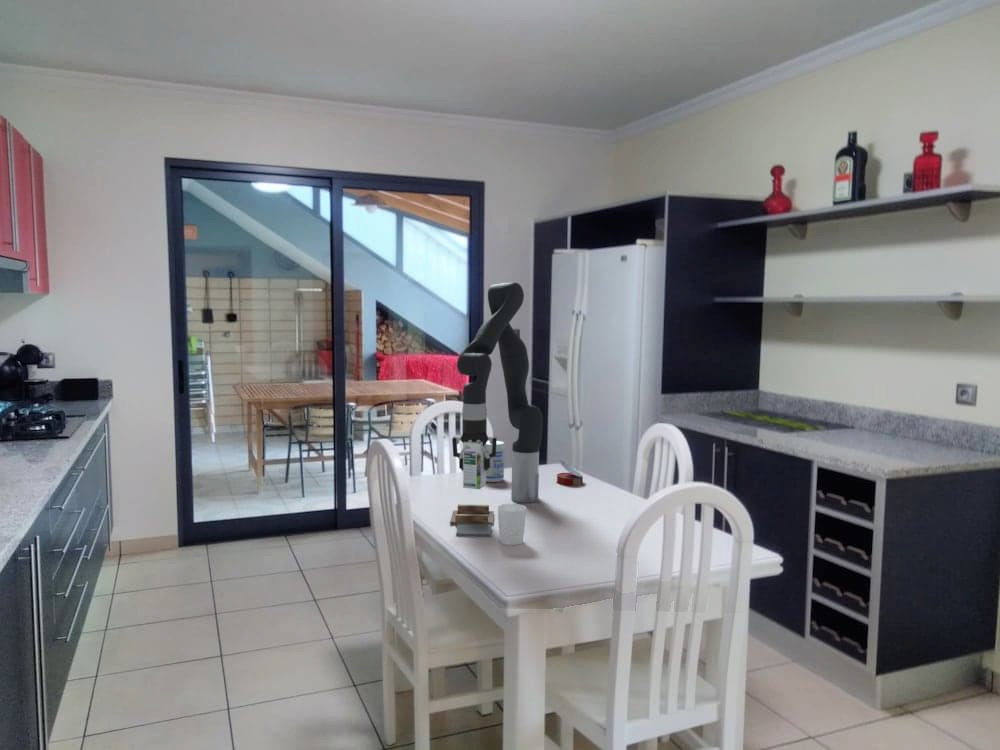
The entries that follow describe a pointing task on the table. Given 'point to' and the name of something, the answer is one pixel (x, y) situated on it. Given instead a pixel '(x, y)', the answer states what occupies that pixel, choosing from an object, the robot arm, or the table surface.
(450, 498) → the table surface
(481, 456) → the syrup box
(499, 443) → the supplement tub
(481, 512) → the wooden picture frame
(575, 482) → the canned food
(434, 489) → the table surface
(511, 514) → the white cup
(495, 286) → the robot arm
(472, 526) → the thin grey plate
